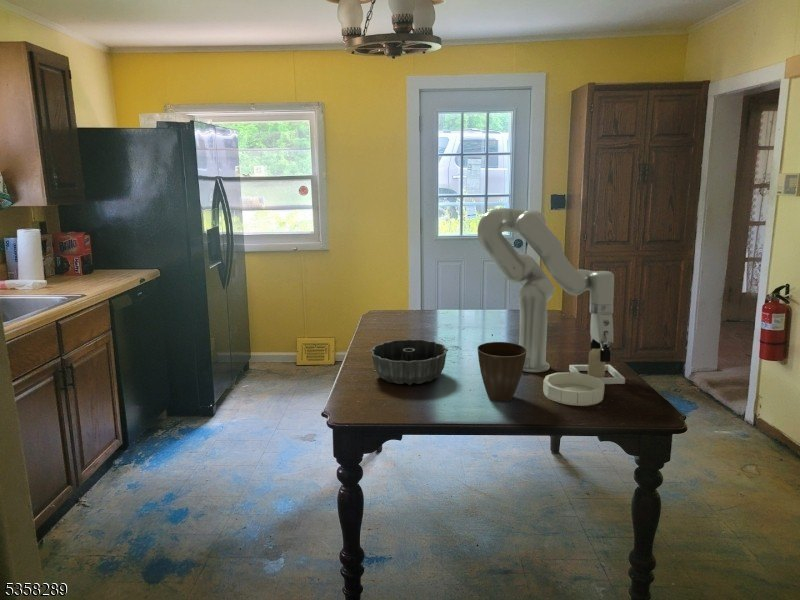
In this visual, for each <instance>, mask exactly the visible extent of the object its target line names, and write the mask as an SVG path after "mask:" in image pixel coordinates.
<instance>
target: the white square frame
mask: <svg viewBox="0 0 800 600" xmlns="http://www.w3.org/2000/svg"><path fill="white" fill-rule="evenodd" d="M568 367H569V368H568V370H569V372H574V373H581V371H582V372H588V364H569V366H568ZM606 371H607V372H608V373H610V375H611V376H612V377H611V376H610V377H609V376H608V377H606V376H604V378H599V379H600V380H601V381H602V382H604V383H605V385H614V384H615V385H617V384H619V385H623V384H624V385H626V384H625V383H626V378H625V377H624V376H623V375H622V374H621V373H620V372H619V371H618V370H617V369H616V368H614V366H612V365H611V364H605V372H606Z"/></svg>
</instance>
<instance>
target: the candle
mask: <svg viewBox="0 0 800 600" xmlns="http://www.w3.org/2000/svg"><path fill="white" fill-rule="evenodd" d="M600 350H601V347H600V348H599V349H596V348H594V349H592V350H591V349H590V351H589V352H588V363H587V365H588V371H587V375H590V376H593V377H596V378H605V377H606V376H605V374H606V371H605V365H606V362H601V361H600Z"/></svg>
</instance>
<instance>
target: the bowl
mask: <svg viewBox="0 0 800 600" xmlns="http://www.w3.org/2000/svg"><path fill="white" fill-rule="evenodd" d="M542 383H543V384H542V385H543V386H542V392H543V395H544V396H545V398H547V399H549V400H551V401H552V402H555V403H559V404H563V405H566V406H567V405H568V406H577V407H579V406H580V407H586V406H594V405H597V404H601V402H602V401H603V400H604V395H605V385H606V384H605V383H604V382H602V381H601V380H600V379H599V378H596V377H593V376H590V375H588V373H587V374H586V373H583V372H582V373H581V372H580V373H574V372H571V371H567V372H566V371H565V372H554V373H551V374H548V375H545V377H544V379H543V381H542Z"/></svg>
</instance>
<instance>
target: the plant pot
mask: <svg viewBox="0 0 800 600" xmlns="http://www.w3.org/2000/svg"><path fill="white" fill-rule="evenodd" d="M526 353H527V349H526V348H525V347H523V346H521V345H519V343H518V344H517V343H513V342H509V341H491V342H484V343H481V344H479V345H478V346H477V356H478V363H479V369H480V374H481V378H482V379H481V380H482V382H483V385H484V390H485V391H486V392H485V393H486V395H487V398H488V399H489V400H491V401H493V402H498V403H506V402H509V401H511V400H512V399H513V398H514V395H515V393H516V391H517V388H518V385H519V383H520V381H521V377H522V374H523V372H524V371H523V367H524V363H525V358H526Z"/></svg>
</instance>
